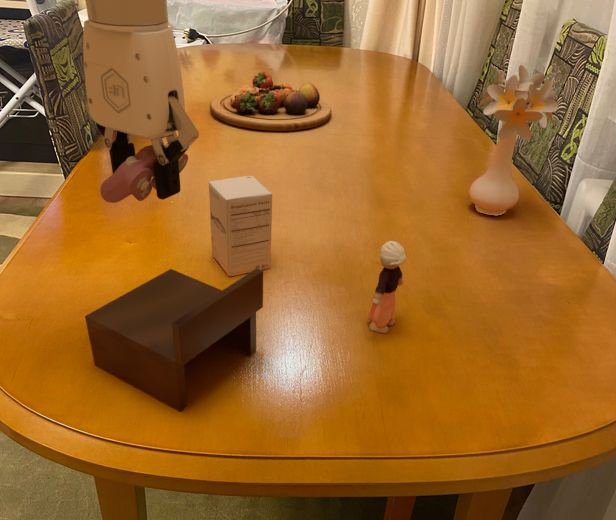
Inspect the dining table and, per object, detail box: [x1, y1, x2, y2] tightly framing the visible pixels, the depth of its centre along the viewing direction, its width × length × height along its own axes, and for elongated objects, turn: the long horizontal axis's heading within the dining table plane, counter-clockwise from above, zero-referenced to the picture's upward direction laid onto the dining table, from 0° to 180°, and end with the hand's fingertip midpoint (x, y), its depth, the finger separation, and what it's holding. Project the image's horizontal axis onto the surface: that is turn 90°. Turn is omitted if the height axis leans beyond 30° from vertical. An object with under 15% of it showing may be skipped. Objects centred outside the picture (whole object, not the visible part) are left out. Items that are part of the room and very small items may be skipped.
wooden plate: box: [209, 71, 332, 132], centre depth 158 cm, size 32×32×8 cm
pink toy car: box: [99, 142, 189, 204], centre depth 68 cm, size 10×5×7 cm, turn 150°
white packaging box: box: [208, 175, 273, 277], centre depth 92 cm, size 7×7×13 cm
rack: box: [84, 268, 264, 412], centre depth 72 cm, size 15×14×12 cm
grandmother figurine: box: [367, 240, 407, 334], centre depth 80 cm, size 8×4×13 cm, turn 159°
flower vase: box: [468, 64, 559, 214], centre depth 109 cm, size 13×18×25 cm
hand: (147, 186), depth 69 cm, fingers closed on pink toy car, 5 cm apart
